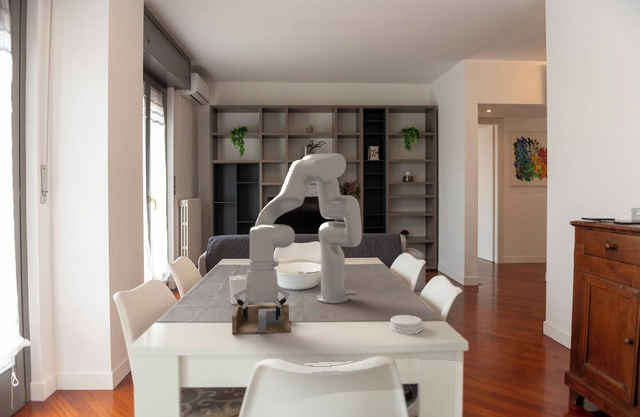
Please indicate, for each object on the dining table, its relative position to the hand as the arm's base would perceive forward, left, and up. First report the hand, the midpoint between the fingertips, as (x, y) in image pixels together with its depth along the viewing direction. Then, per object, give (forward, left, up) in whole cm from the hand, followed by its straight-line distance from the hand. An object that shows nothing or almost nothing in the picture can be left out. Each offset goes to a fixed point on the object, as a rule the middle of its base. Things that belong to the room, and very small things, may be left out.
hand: (261, 319), depth 135 cm
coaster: (-46, +4, -4) cm, 46 cm away
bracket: (-3, 0, -3) cm, 4 cm away
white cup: (+9, -34, -4) cm, 35 cm away
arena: (0, -3, -3) cm, 5 cm away
